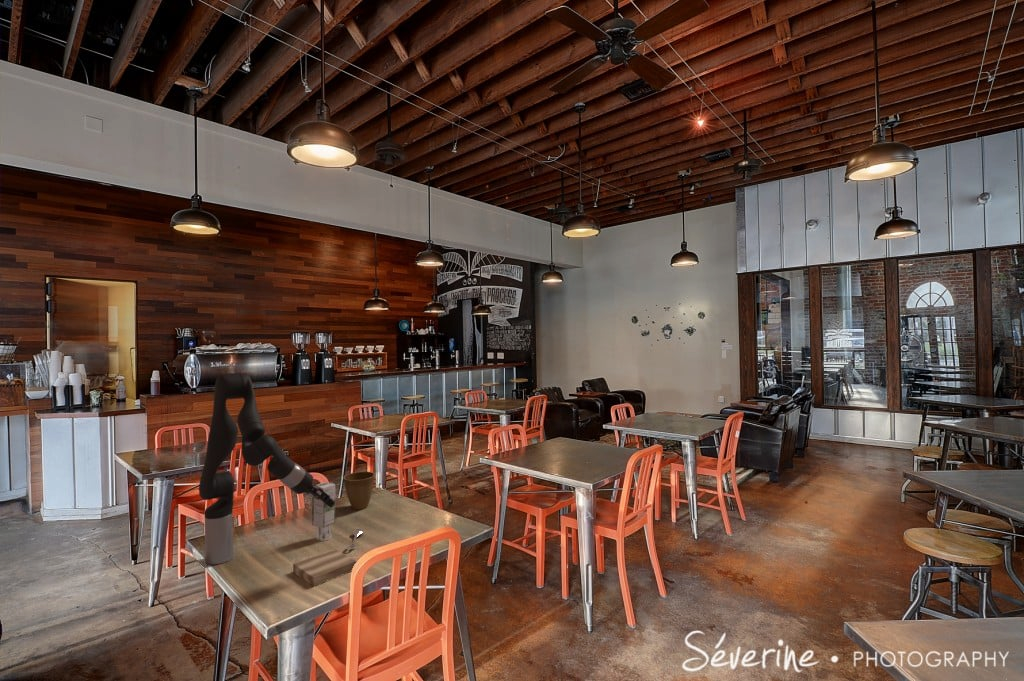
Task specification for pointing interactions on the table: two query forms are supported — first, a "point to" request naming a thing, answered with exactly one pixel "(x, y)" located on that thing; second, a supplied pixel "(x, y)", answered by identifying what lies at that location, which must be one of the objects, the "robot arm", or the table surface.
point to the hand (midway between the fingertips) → (328, 502)
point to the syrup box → (323, 507)
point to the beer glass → (323, 533)
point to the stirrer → (356, 533)
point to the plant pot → (359, 488)
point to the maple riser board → (323, 567)
